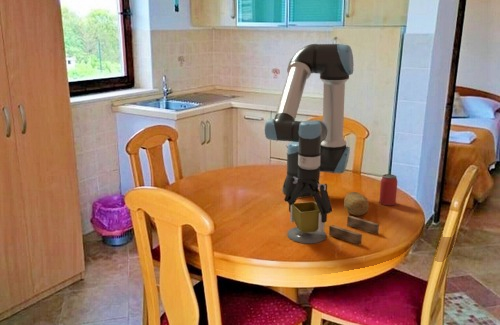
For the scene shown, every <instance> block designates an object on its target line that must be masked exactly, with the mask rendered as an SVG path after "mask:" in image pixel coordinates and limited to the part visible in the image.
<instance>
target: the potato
mask: <svg viewBox="0 0 500 325" xmlns="http://www.w3.org/2000/svg"><path fill="white" fill-rule="evenodd" d="M343 207H344V209H345V210H346V211H347V212H348V213H349V214H351V215H354V216H362V215H364V214H366V213H367V212H368V210H369V208H370V203H369V199H368V197H366V196H365V195H363V194H361V193H360V192H358V191H353V192H352V191H351V192H350V191H349V193H347V194H346V195H345V198H344V201H343Z"/></svg>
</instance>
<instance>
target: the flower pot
mask: <svg viewBox="0 0 500 325" xmlns="http://www.w3.org/2000/svg"><path fill="white" fill-rule="evenodd" d="M292 210H293V218H294V223H295V226H296V227H298V229H299V230H300V231H301V232H302V233H309V232H316V231H317V230H318V224H319V213H321V212H320V210H319V208H318V206H317V204H316V202H315V200H314V201H304V202H295V203H294V204H292Z"/></svg>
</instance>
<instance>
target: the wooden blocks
mask: <svg viewBox="0 0 500 325" xmlns="http://www.w3.org/2000/svg"><path fill="white" fill-rule="evenodd" d="M346 223H347V224H346V226H347V227H351V228H354V229H358V230H360V231H363V232H366V233H369V234H374V235H378V234H379V231H380V230H379V227H380V223H376V222H373V221H370V220H366V219H362V218H360V217H355V216H352V215H348V216H347V220H346ZM328 232H329V234H328V236H330V237H332V238H336V239H339V240H342V241H344V242H348V243H352V244H353V245H358V246H360V245H361V244H362V239H363V238H362V237H363V235H362V233H359V232H356V231H352V230H349V229H346V228H342V227H340V226H336V225H334V224H331V225H329V230H328Z"/></svg>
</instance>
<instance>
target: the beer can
mask: <svg viewBox="0 0 500 325" xmlns="http://www.w3.org/2000/svg"><path fill="white" fill-rule="evenodd" d="M397 189H398V178H397V175H395V174H392V173H386V174H383V175H382V178H381V179H380V189H379V203H380V204H381V205H384V206H386V207H387V206H388V207H389V206H395V205H396V203H397V192H398V190H397Z"/></svg>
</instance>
